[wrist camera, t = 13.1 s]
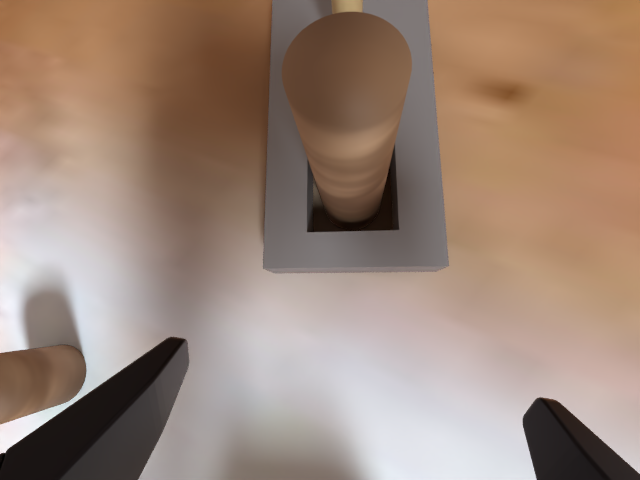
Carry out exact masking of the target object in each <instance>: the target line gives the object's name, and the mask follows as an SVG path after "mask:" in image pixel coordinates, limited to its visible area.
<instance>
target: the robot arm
mask: <svg viewBox="0 0 640 480" xmlns="http://www.w3.org/2000/svg"><path fill="white" fill-rule="evenodd" d="M188 366H189V354H188V343H187V340H186V339H183V338H177V337H169V338H167V339H166V340H164V341H163V342H161V343H160V344H159V345H157V346H156V347H154V348H153V349H151V350H150V351H148V352H147V353H146V354H144V355H143V356H141V357H140V358H138V359H137V360H136V361H134V362H133V363H131V364H130V365H128V366H127V367H125V368H124V369H123V370H121V371H120V372H118V373H117V374H115V375H114V376H112V377H111V378H110V379H108V380H107V381H105V382H104V383H102V384H101V385H99V386H98V387H97V388H95V389H94V390H92V391H91V392H89V393H88V394H87V395H85V396H84V397H82V398H81V399H79V400H78V401H76V402H75V403H74V404H72V405H71V406H69V407H68V408H66V409H65V410H63V411H62V412H61V413H59V414H58V415H56V416H55V417H53V418H52V419H50V420H49V421H48V422H46V423H45V424H43V425H42V426H40V427H39V428H38V429H36V430H35V431H33V432H32V433H30V434H29V435H27V436H26V437H25V438H23V439H22V440H20V441H19V442H17V443H16V444H14V445H13V446H12V447H10V448H9V449H8V450H7V451H6V453H1V454H0V480H138V479H139V477H140V475H141V473H142V471H143V469H144V467H145V465H146V463H147V461H148V459H149V457H150V455H151V453H152V451H153V450H154V448H155V446H156V444H157V442H158V440H159V438H160V436H161V434H162V432H163V429H164V427H165V425H166V422H167V420H168V417H169V415H170V412H171V410H172V407H173V405H174V402H175V400H176V397H177V395H178V392H179V390H180V387H181V385H182V382H183V380H184V377H185V374H186V372H187V369H188ZM523 428H524V432H525V436H526V440H527V443H528V447H529V451H530V455H531V459H532V463H533V467H534V471H535V474H536V478H537V480H640V474H639V473H638V472H637V471H636V470H634V469H633V468H632V467H631V466H630V465H629V464H628V463H627V462H625V461H624V460H623V459H622V458H621V457H620V456H619V455H618V454H617V453H615V452H614V451H613V450H612V449H611V448H610V447H609V446H608V445H606V444H605V443H604V442H603V441H602V440H601V439H600V438H599V437H598V436H596V435H595V434H594V433H593V432H592V431H591V430H590V429H589V428H587V427H586V426H585V425H584V424H583V423H582V422H581V421H580V420H578V419H577V418H576V417H575V416H574V415H573V414H572V413H571V412H570V411H568V410H567V409H566V408H565V407H564V406H563V405H562V404H561V403H559V402H558V401H556V400H553V399H548V398H541V397H540V398H537V399H536V400H535V401H534V402H533V404H532V405H531V406H530V408H529V409H528V410H527V412H526V413H525V415H524V417H523Z"/></svg>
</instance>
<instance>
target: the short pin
mask: <svg viewBox="0 0 640 480" xmlns="http://www.w3.org/2000/svg"><path fill="white" fill-rule="evenodd" d="M85 377H86V363H85V360H84V357H83V355H82V354H81V352H80V351H79V350H78V349H76V348H75V347H73V346H70V345H57V346H50V347H42V348H35V349H27V350H20V351H12V352H5V353H0V424H3V423H6V422H9V421H12V420H15V419H18V418H21V417H24V416H27V415H30V414H33V413H36V412H39V411H42V410H45V409H48V408H51V407H54V406H57V405H60V404H63V403H65V402H68V401H69V400H71V399H72V398H74V397H75V396H76V395H77V393H78V392H79V391H80V389H81V388H82V386H83V383H84V381H85Z"/></svg>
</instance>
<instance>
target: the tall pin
mask: <svg viewBox="0 0 640 480" xmlns="http://www.w3.org/2000/svg"><path fill="white" fill-rule="evenodd" d="M411 72H412V57H411V52H410V49H409V46H408V44H407V42H406V40H405V38H404V37H403V35H402V34H401V33H400V32H399V30H398V29H396V28H395V27H394V26H393V25H392V24H390V23H389V22H387V21H386V20H384V19H382V18H380V17H378V16H375V15H372V14H368V13H364V12H340V13H335V14H331V15H328V16H325V17H322V18H320V19H318V20H316V21H314V22H313V23H311V24H309V25H308V26H307V27H306V28H304V29H303V30H302V31H301V32H300V33H299V34H298V35H297V36H296V37H295V38H294V40H293V41H292V42H291V44H290V46H289V47H288V49H287V51H286V54H285V56H284V60H283V64H282V82H283V86H284V89H285V92H286V95H287V98H288V101H289V104H290V107H291V110H292V113H293V116H294V119H295V122H296V125H297V128H298V131H299V134H300V137H301V140H302V143H303V146H304V149H305V152H306V155H307V158H308V161H309V164H310V167H311V170H312V173H313V176H314V179H315V182H316V185H317V188H318V191H319V194H320V197H321V200H322V203H323V206H324V209H325V212H326V214H327V216H328V218H329V219H330V220H331V221H332V222H333V223H334V224H335V225H337V226H338V227H340V228H343V229H347V230H356V229H360V228H363V227H365V226H367V225H369V224H370V223H371V222H372V221H373V220H374V219H375V218H376V216H377V214H378V212H379V209H380V204H381V200H382V196H383V192H384V187H385V183H386V179H387V174H388V170H389V166H390V162H391V157H392V153H393V149H394V145H395V140H396V136H397V132H398V128H399V123H400V119H401V115H402V111H403V106H404V102H405V98H406V94H407V89H408V85H409V81H410V76H411Z"/></svg>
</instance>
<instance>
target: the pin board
mask: <svg viewBox="0 0 640 480" xmlns="http://www.w3.org/2000/svg"><path fill="white" fill-rule="evenodd" d="M340 12H364V13H368V14H372V15H375V16H378V17H380V18H382V19H384V20H386V21H387V22H389V23H390V24H392V25H393V26H394V27H395V28H396V29H398V30H399V32H400V33H401V34H402V35H403V37H404V38H405V40H406V42H407V44H408V46H409V49H410V52H411V57H412V72H411V76H410V81H409V85H408V89H407V94H406V98H405V102H404V106H403V111H402V115H401V119H400V123H399V128H398V132H397V136H396V140H395V145H394V149H393V153H392V157H391V162H390V177H391V198H392V219H393V230H383V231H343V232H313V173H312V170H311V167H310V164H309V161H308V158H307V155H306V152H305V149H304V146H303V143H302V140H301V137H300V134H299V131H298V128H297V125H296V122H295V119H294V116H293V113H292V110H291V107H290V104H289V101H288V98H287V95H286V92H285V89H284V86H283V82H282V64H283V60H284V56H285V54H286V51H287V49H288V47H289V46H290V44H291V42H292V41H293V40H294V38H295V37H296V36H297V35H298V34H299V33H300V32H301V31H302V30H303V29H304V28H306V27H307V26H308V25H309V24H311V23H313V22H314V21H316V20H318V19H320V18H322V17H325V16H328V15H331V14H335V13H340ZM448 266H449V261H448V249H447V236H446V224H445V212H444V199H443V187H442V175H441V162H440V150H439V138H438V125H437V113H436V101H435V88H434V76H433V64H432V51H431V39H430V27H429V14H428V2H427V0H272V27H271V55H270V83H269V111H268V140H267V168H266V196H265V224H264V252H263V269H266V270H268V271H271V272H273V273H342V272H433V271H438V270H441V269H443V268H446V267H448Z"/></svg>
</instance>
